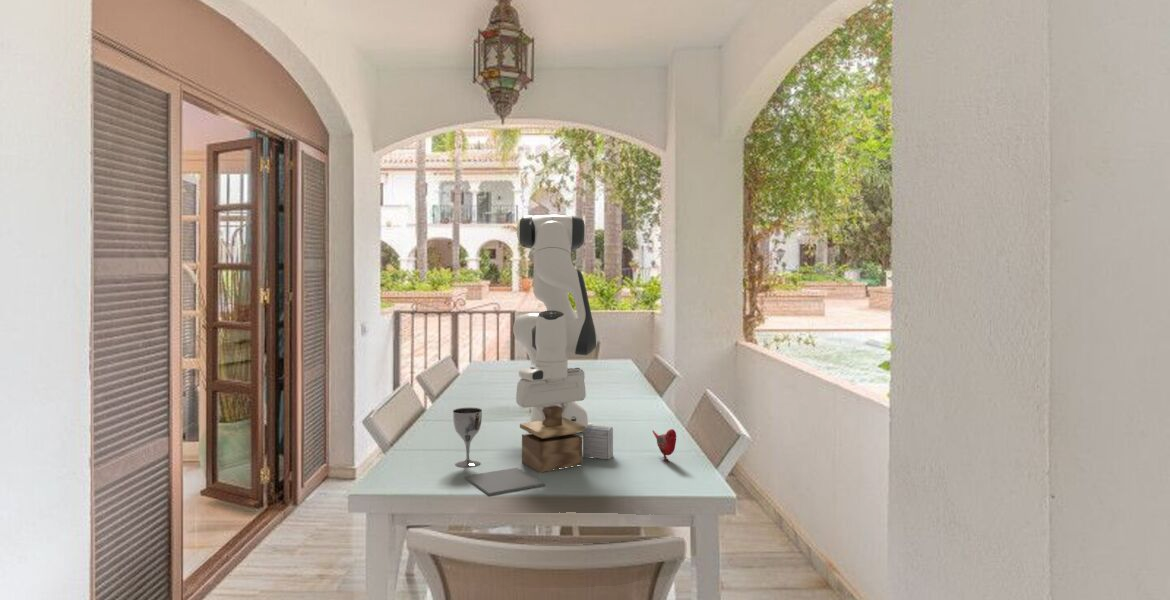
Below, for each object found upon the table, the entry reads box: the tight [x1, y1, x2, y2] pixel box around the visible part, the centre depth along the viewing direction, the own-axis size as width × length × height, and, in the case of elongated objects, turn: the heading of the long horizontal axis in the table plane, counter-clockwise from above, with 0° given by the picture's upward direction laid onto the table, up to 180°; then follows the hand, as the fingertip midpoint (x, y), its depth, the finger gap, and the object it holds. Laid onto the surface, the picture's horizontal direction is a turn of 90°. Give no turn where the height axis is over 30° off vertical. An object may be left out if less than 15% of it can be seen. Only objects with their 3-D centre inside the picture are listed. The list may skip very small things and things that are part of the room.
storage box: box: [521, 432, 583, 473], centre depth 199 cm, size 13×11×8 cm
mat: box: [464, 467, 546, 496], centre depth 183 cm, size 15×16×1 cm
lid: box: [519, 405, 585, 439], centre depth 199 cm, size 14×12×7 cm
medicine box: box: [582, 424, 614, 460], centre depth 207 cm, size 8×4×9 cm, turn 71°
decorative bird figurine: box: [652, 428, 677, 463], centre depth 205 cm, size 3×18×10 cm, turn 15°
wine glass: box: [452, 407, 483, 469], centre depth 199 cm, size 8×8×15 cm
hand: (551, 419), depth 199 cm, fingers closed on lid, 4 cm apart
